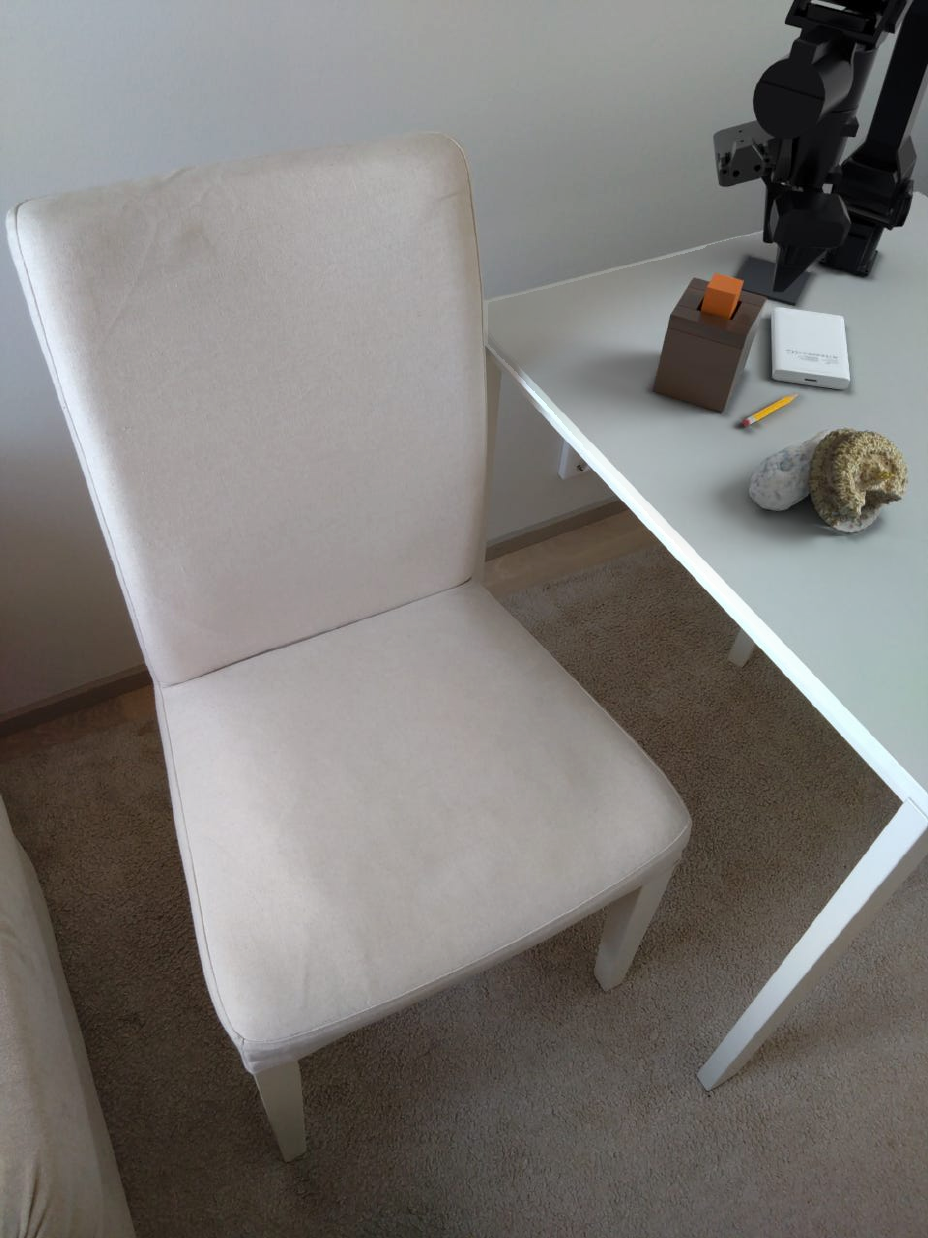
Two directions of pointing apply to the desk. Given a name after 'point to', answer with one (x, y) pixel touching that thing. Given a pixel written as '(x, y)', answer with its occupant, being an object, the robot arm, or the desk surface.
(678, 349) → the holder
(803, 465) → the decorative stone
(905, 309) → the desk surface
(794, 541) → the desk surface
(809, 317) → the hard drive
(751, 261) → the coaster
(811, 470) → the coral piece
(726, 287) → the block
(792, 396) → the pencil
